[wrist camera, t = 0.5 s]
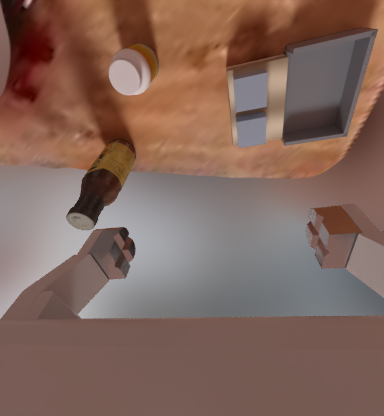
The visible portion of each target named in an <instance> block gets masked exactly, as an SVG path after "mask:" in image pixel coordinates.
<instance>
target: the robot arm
mask: <svg viewBox="0 0 384 416" xmlns="http://www.w3.org/2000/svg"><path fill="white" fill-rule="evenodd" d="M308 217H309V218H310V220H311V221H310V222H309V223H308V224H307V230H306V232H307V238H308V242H309V244H310V246H311V247H312V248H314V249H315V250H316V251H315V256H316V258H317V261H318V263H319V264H320V267H321V268H346V269H347V270H348V271H349V272H351V273H352V274H353V275H354V276H356V277H357V278H358V279H360V280H361V281H363V282H364V283H365V284H366V285H368V286H369V287H370V288H372V289H373V290H374V291H375V292H377V293H378V294H379V295H381V296H382V297H383V298H384V231H382V232H381V231H380V230H379V229H378V228H377V227H376V226H375V225H374V224H373V223H372V222H371V221H370V220H369V218H368V217H367V216H366V215H365V214H364V213H363V212H362V211H361V210H360V209H359V208H358V207H357V206H356V205H355V204H345V205H338V206H330V207H321V208H311V209H310V211H309V216H308ZM128 235H129V232H128V230H127V229H126V228H124V227H120V228H106V229H96V230H94V231H93V232H92V233H91V235H90V236H89V238H88V239H87V241H86V242H85V244H84V245H83V247H82V248H81V250H80V251H79V252H78V254H77V255H74V256H72V257H71V258H69V259H68V260H66V261H65V262H63V263H62V264H61V265H59V266H58V267H56V268H55V269H53V270H52V271H51V272H49V273H48V274H46V275H45V276H44V277H42V278H41V279H39V280H38V281H36V282H35V283H34V284H32V285H31V286H29V287H28V288H27V289H25V290H24V291H23V292H22V293H21V294H20V295H19V297H18V298H17V299H16V301H15V302H14V303H13V304H12V305H11V307H10V308H9V309H8V310H7V312H6V313H5V314H4V315H3V317H2V318H1V319H0V416H384V315H383V316H294V317H293V316H292V317H209V318H208V317H203V318H202V317H201V318H112V319H110V318H109V319H81V318H80V317H79V316H78V315H77V314H78V313H79V312H80V311H81V310H82V309H83V308H84V307H85V306H86V305H87V304H88V303H89V302H90V300H91V299H92V298H93V297H94V296H95V295H96V294H97V293H98V292H99V291H100V290H101V289H102V288H103V287H104V285H105V284H106V283H107V282H108V281H109V279H121V278H126V276H127V273H128V271H129V268H130V264H129V262H130V261H131V260H132V259H133V258H134V255H135V244H134V242H133V240H132V239H131V238H129V237H128Z"/></svg>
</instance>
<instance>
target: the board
mask: <svg viewBox="0 0 384 416" xmlns="http://www.w3.org/2000/svg"><path fill="white" fill-rule="evenodd" d="M288 58H289V57H287V56H286V55H284V54H281V55H277V56H273V57H268V58H264V59H260V60H255V61H251V62H247V63H242V64H238V65H234V66H229V67H226V71H227V83H228V95H229V106H230V118H231V130H232V140H233V146H237V145H238V142H237V129H236V116H241V115H246V114H252V113H257V112H263V111H264V113H265V115H266V141H268V140H274V139H280V138H282V133H283V121H284V108H285V96H286V83H287V71H288ZM261 69H265V70H266V71H267V72H268V77H267V107H263V108H258V109H252V110H247V111H242V112H237V113H236V109H235V101H234V86H233V76H234V75H239V74H243V73H248V72H252V71H257V70H261Z"/></svg>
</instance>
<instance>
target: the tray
mask: <svg viewBox="0 0 384 416" xmlns="http://www.w3.org/2000/svg"><path fill="white" fill-rule="evenodd" d="M377 31H378V29H371V28H362V27H361V28H357V29H352V30H348V31H344V32H340V33H336V34H331V35H327V36H323V37H319V38H315V39H310V40H306V41H302V42H298V43H294V44H289V45H286V51H285V55H286V56H287V57H289V58H288V71H287V83H286V96H285V108H284V121H283V133H282V138H281V140H282V141H283V143H284V145H285V146H287V145H293V144H300V143H306V142H313V141H319V140H326V139H332V138H339V137H345V136H347V134H348V130H349V127H350V123H351V120H352V117H353V113H354V110H355V106H356V103H357V99H358V96H359V93H360V89H361V86H362V82H363V79H364V75H365V72H366V69H367V65H368V62H369V58H370V55H371V51H372V48H373V45H374V41H375V38H376V34H377Z"/></svg>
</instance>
